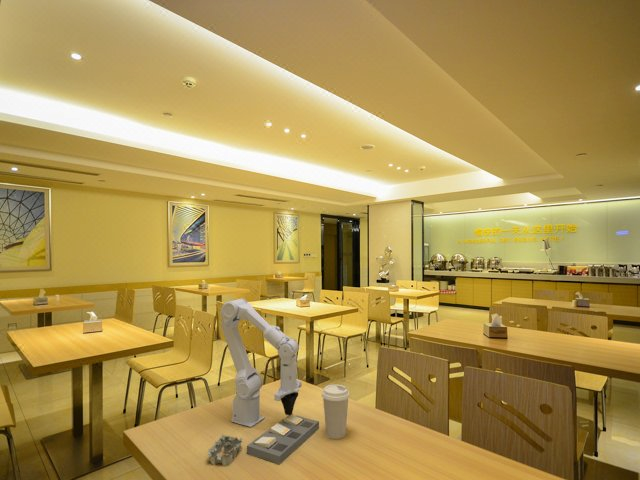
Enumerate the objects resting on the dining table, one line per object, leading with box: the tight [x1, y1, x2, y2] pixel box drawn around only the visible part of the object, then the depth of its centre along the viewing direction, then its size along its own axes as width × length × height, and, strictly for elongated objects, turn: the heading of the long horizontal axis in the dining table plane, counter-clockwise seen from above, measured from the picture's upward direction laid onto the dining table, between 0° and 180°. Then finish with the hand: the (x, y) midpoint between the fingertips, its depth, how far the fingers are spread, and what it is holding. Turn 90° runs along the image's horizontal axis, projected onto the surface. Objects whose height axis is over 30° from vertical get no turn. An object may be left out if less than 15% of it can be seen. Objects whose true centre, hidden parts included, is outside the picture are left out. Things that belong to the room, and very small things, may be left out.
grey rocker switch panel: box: [246, 414, 320, 465], centre depth 115 cm, size 12×24×2 cm, turn 152°
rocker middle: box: [269, 422, 290, 437], centre depth 116 cm, size 5×4×1 cm
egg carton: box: [207, 434, 243, 467], centre depth 106 cm, size 11×8×4 cm
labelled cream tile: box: [283, 413, 303, 426], centre depth 123 cm, size 5×4×1 cm
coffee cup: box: [321, 384, 351, 440], centre depth 118 cm, size 10×10×15 cm
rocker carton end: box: [255, 437, 276, 448], centre depth 109 cm, size 5×4×1 cm
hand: (288, 414), depth 124 cm, fingers closed
